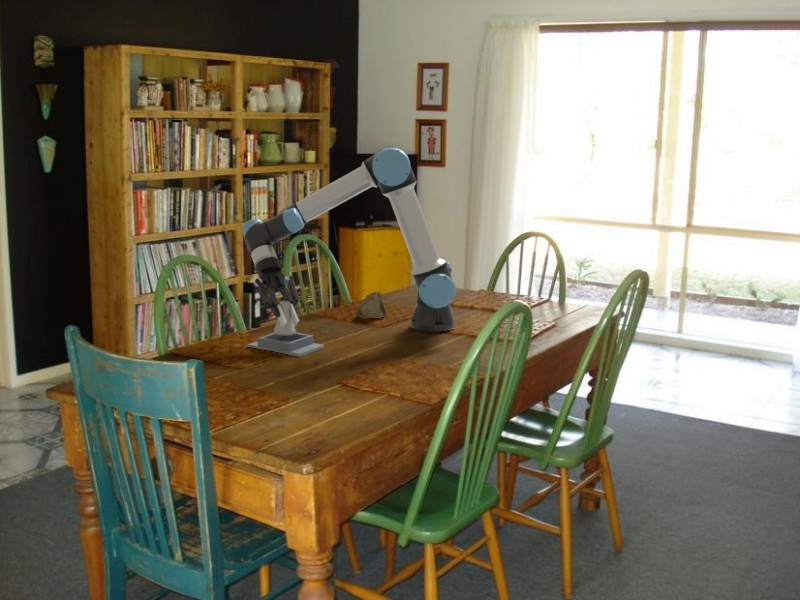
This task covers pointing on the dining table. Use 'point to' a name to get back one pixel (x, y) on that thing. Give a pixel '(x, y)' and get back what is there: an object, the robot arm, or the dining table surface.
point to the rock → (371, 306)
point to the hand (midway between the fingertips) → (290, 324)
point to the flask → (289, 325)
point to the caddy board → (288, 344)
